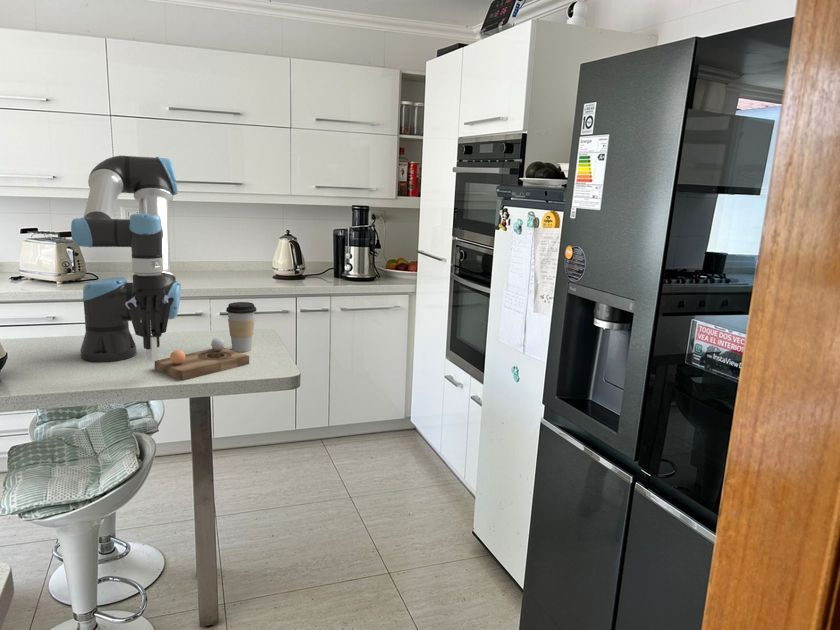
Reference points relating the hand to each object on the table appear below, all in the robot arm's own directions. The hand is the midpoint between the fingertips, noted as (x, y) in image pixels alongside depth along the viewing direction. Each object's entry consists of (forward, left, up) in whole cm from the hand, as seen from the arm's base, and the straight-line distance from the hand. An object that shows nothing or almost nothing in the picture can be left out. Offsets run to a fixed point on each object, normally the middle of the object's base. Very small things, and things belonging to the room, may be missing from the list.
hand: (152, 359), depth 166 cm
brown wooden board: (0, +16, -5) cm, 17 cm away
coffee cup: (-7, +35, -6) cm, 36 cm away
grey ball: (-4, +24, -1) cm, 24 cm away
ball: (0, +8, -1) cm, 8 cm away
